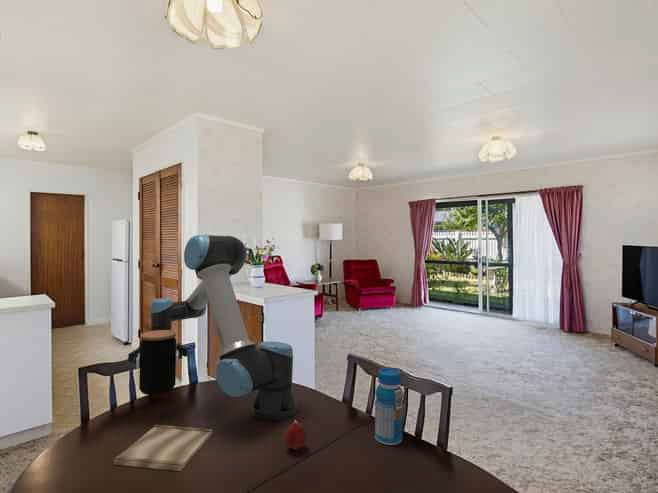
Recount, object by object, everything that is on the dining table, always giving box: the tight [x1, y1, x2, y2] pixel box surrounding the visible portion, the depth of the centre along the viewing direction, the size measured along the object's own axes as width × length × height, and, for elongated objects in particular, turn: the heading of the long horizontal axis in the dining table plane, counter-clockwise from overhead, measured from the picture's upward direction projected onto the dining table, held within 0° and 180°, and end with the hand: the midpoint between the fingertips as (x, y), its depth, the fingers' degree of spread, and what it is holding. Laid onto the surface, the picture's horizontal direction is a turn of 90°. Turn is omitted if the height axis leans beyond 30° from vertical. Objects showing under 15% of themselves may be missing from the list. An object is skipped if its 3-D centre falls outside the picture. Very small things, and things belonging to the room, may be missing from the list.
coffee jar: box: [138, 330, 177, 396], centre depth 117 cm, size 11×11×18 cm
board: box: [113, 424, 214, 472], centre depth 99 cm, size 18×18×2 cm
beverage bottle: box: [374, 367, 405, 446], centre depth 107 cm, size 8×8×20 cm
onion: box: [284, 419, 307, 451], centre depth 100 cm, size 6×6×8 cm
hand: (157, 361), depth 113 cm, fingers closed on coffee jar, 11 cm apart
